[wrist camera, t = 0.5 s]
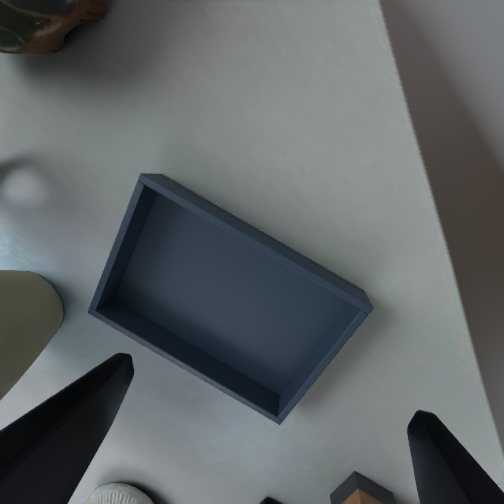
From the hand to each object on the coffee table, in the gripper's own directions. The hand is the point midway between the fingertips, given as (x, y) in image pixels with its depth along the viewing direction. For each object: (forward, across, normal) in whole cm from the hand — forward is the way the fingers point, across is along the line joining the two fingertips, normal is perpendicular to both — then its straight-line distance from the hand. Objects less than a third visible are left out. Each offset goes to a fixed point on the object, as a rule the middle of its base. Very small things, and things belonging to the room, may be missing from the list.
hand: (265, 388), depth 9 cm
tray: (+14, +4, +7) cm, 16 cm away
